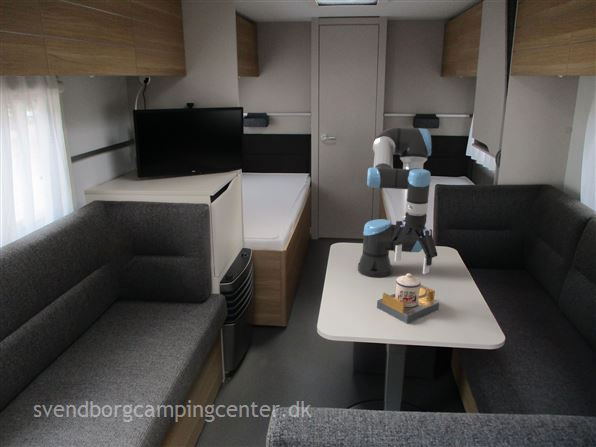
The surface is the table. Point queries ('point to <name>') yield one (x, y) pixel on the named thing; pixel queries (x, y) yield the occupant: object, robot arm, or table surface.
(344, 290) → the table surface
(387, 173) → the robot arm
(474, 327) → the table surface
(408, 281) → the teacup with lid
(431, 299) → the grey tray
